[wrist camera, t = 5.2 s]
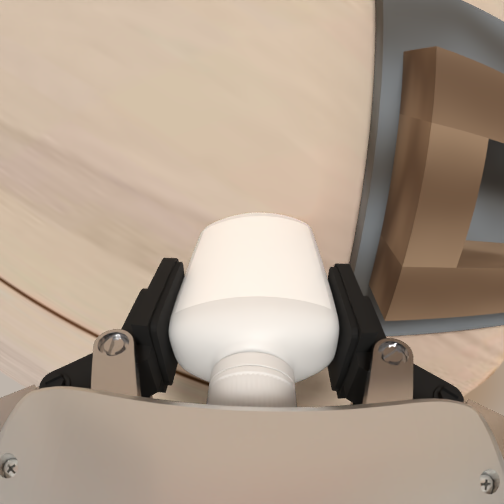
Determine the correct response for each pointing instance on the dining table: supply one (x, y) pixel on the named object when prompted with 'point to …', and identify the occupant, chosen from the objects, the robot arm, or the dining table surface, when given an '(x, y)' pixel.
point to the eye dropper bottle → (254, 311)
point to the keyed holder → (434, 170)
